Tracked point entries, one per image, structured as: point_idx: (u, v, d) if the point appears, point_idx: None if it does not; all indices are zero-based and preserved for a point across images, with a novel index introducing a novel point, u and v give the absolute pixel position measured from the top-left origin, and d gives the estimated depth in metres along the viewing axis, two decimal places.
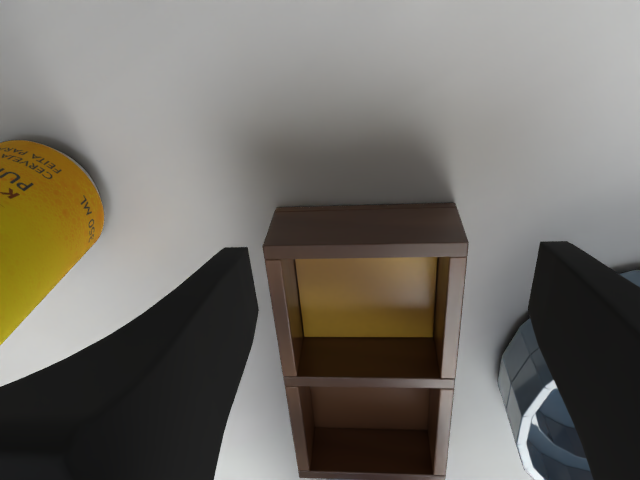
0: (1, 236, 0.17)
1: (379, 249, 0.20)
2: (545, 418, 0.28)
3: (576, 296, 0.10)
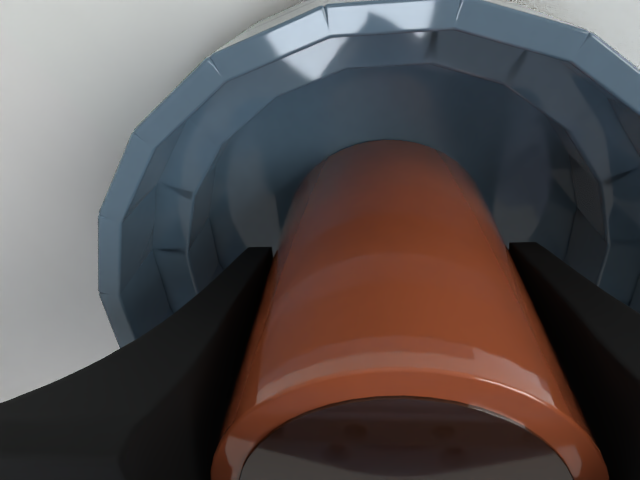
0: None
1: None
2: None
3: (539, 296, 0.10)
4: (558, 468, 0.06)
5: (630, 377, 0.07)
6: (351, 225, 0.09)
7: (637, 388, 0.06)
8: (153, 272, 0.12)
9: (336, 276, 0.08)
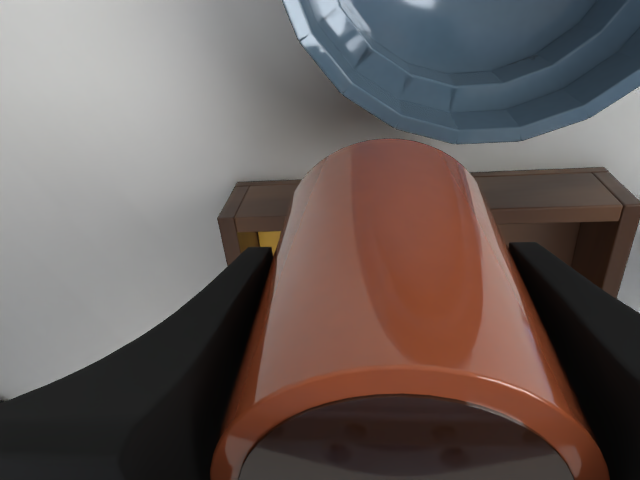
0: None
1: None
2: (581, 22, 0.17)
3: (539, 296, 0.10)
4: (558, 466, 0.06)
5: (630, 377, 0.07)
6: (350, 223, 0.09)
7: (637, 388, 0.06)
8: None
9: (335, 274, 0.08)
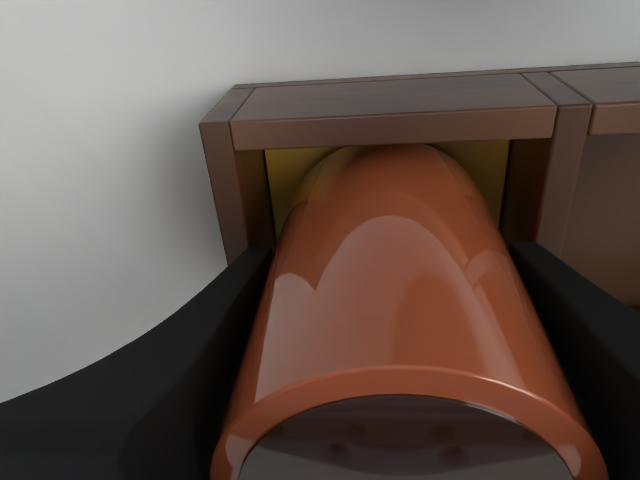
0: None
1: (236, 255, 0.12)
2: None
3: (539, 296, 0.10)
4: (557, 466, 0.06)
5: (630, 377, 0.07)
6: (350, 224, 0.09)
7: (637, 388, 0.06)
8: None
9: (335, 275, 0.08)
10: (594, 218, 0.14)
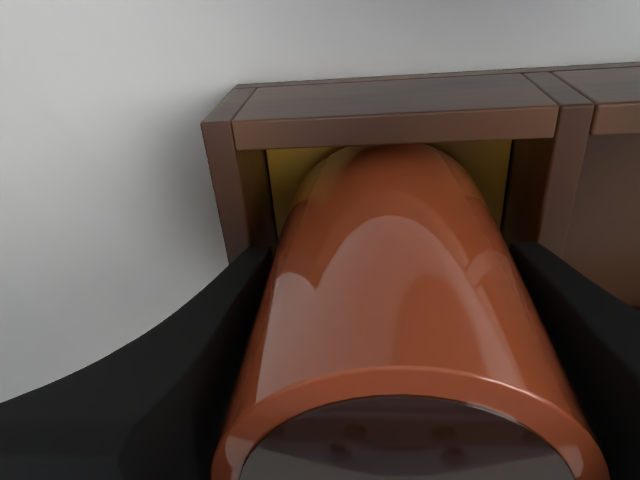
0: None
1: (237, 254, 0.12)
2: None
3: (541, 296, 0.10)
4: (559, 467, 0.06)
5: (632, 377, 0.07)
6: (351, 224, 0.09)
7: None
8: None
9: (336, 275, 0.08)
10: (596, 218, 0.14)
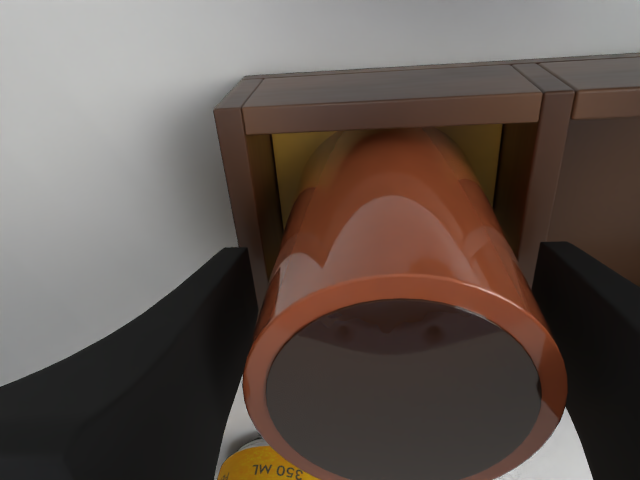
0: None
1: (246, 233, 0.13)
2: None
3: (576, 296, 0.10)
4: (524, 361, 0.08)
5: None
6: (357, 181, 0.11)
7: None
8: None
9: (345, 218, 0.09)
10: (582, 202, 0.15)
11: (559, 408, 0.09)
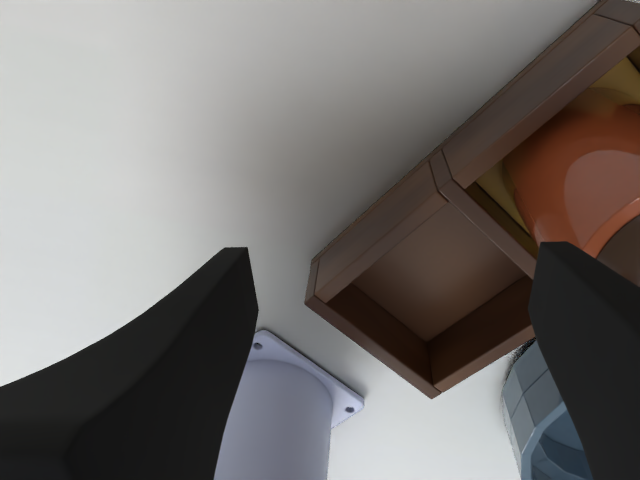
0: None
1: None
2: None
3: (576, 296, 0.10)
4: None
5: None
6: None
7: None
8: None
9: None
10: (453, 245, 0.22)
11: None
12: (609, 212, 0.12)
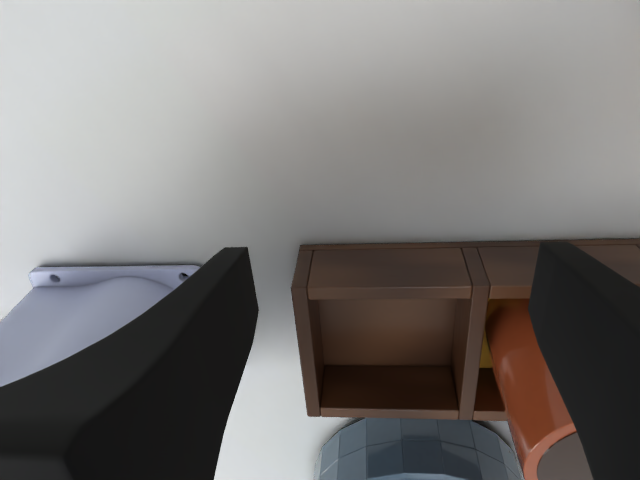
0: None
1: None
2: None
3: (576, 296, 0.10)
4: None
5: None
6: None
7: None
8: None
9: None
10: (414, 314, 0.25)
11: (527, 465, 0.17)
12: None
